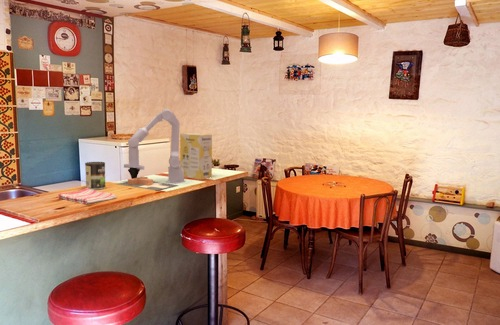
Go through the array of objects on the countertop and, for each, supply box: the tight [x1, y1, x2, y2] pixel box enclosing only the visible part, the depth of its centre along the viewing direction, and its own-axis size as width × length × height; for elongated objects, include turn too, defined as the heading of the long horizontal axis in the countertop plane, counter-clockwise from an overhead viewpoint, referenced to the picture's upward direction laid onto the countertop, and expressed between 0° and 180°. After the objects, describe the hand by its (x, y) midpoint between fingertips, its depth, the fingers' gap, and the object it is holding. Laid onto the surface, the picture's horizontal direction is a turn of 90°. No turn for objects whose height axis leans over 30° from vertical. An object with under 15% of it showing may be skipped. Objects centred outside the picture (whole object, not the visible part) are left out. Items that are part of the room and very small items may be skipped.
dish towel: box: [58, 187, 117, 205], centre depth 204 cm, size 17×23×4 cm
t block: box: [127, 176, 154, 186], centre depth 241 cm, size 12×12×3 cm
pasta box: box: [179, 132, 213, 180], centre depth 270 cm, size 18×10×28 cm, turn 53°
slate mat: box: [117, 181, 179, 192], centre depth 240 cm, size 18×31×1 cm, turn 60°
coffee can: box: [84, 161, 106, 191], centre depth 228 cm, size 10×10×14 cm
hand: (134, 180), depth 244 cm, fingers closed
